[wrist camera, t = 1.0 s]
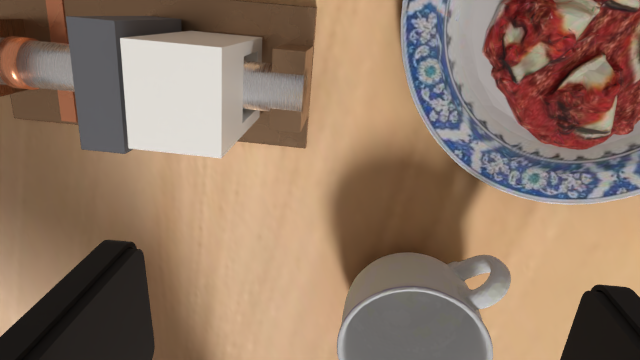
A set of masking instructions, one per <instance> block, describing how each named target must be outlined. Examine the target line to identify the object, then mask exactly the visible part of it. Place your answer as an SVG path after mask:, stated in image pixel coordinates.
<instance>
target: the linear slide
mask: <svg viewBox="0 0 640 360" xmlns="http://www.w3.org/2000/svg"><path fill="white" fill-rule="evenodd" d="M316 13H317V8H312V7H301V6H290V5H278V4H267V3H256V2H245V1H234V0H0V96H4V95H9V94H10V96H11V102H12V107H13V113H14V118H18V119H27V120H37V121H47V122H56V123H66V124H76V125H79V124H78V116H77V107H76V99H75V90H74V82H73V73H72V65H71V56H70V48H69V39H68V31H67V22H66V16H154V17H165V18H176V19H181V28H182V32H184V31H199V32H210V33H220V34H231V35H242V36H252V37H262V62H251V61H244V69H243V109H251V110H260V117H259V118H258V119H257V120H256V122H255V123H254V124H253V125H252V126H251V127H250V128H249V129H248V130H247V131H246V132H245V133H244V134H243V136H242V137H241V138H240V139H239V140H238V141H239V142H249V143H259V144H268V145H278V146H288V147H297V148H306V144H307V130H308V117H309V104H310V91H311V78H312V65H313V52H314V39H315V26H316Z"/></svg>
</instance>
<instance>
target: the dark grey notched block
mask: <svg viewBox="0 0 640 360" xmlns="http://www.w3.org/2000/svg"><path fill="white" fill-rule="evenodd" d="M66 22H67V31H68V39H69V48H70V56H71V65H72V73H73V82H74V90H75V99H76V107H77V116H78V124H79V133H80V141H81V149H83V150H93V151H102V152H112V153H121V154H126V153H127V152H129V151H131V150H132V149H129V148H128V135H127V122H126V109H125V96H124V83H123V70H122V58H121V45H120V38H124V37H134V36H144V35H154V34H164V33H174V32H182V28H181V19H176V18H165V17H154V16H66Z"/></svg>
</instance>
